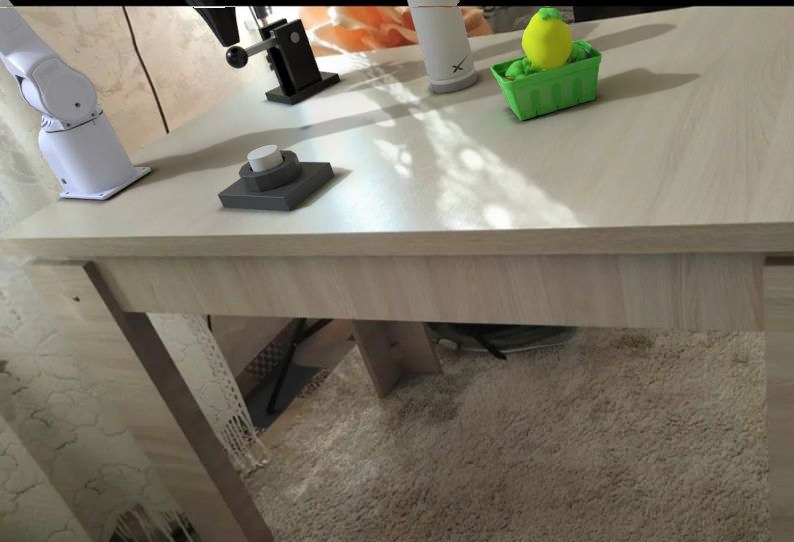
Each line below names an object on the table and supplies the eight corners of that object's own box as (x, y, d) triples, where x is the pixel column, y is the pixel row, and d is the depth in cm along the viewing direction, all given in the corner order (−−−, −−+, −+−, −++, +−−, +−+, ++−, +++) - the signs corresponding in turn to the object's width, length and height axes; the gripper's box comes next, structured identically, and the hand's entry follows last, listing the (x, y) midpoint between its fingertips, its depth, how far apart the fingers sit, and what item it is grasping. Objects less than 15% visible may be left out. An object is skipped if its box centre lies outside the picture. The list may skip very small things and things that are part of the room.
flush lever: (237, 72, 106) (228, 50, 104) (227, 71, 108) (218, 49, 106) (301, 44, 111) (293, 22, 109) (290, 43, 113) (282, 22, 111)
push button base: (223, 208, 85) (210, 179, 83) (270, 174, 91) (258, 146, 89) (290, 211, 81) (277, 181, 78) (335, 176, 86) (324, 146, 84)
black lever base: (292, 105, 111) (265, 35, 105) (267, 100, 115) (240, 34, 110) (340, 81, 115) (318, 13, 109) (315, 77, 120) (291, 12, 114)
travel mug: (474, 89, 99) (433, -83, 87) (426, 96, 101) (380, -71, 89) (484, 71, 104) (446, -94, 92) (438, 79, 106) (395, -82, 94)
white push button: (247, 173, 83) (240, 158, 82) (267, 159, 86) (261, 144, 85) (270, 174, 82) (263, 159, 81) (290, 159, 84) (284, 144, 83)
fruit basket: (588, 80, 92) (573, -19, 86) (614, 102, 85) (600, -5, 79) (497, 108, 92) (475, 10, 85) (516, 132, 84) (494, 27, 78)
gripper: (241, -77, 94) (283, 36, 102) (189, -71, 103) (231, 32, 111) (190, -60, 90) (238, 55, 98) (141, -55, 100) (188, 50, 108)
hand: (231, 44), depth 105 cm, fingers closed
